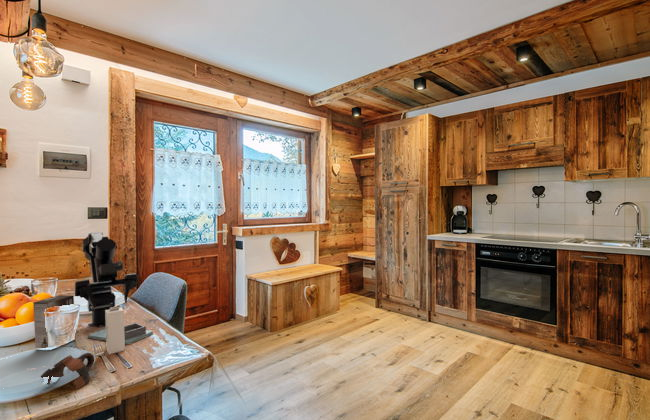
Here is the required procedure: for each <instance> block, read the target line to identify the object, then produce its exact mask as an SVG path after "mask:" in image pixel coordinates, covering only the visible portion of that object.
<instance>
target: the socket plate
mask: <svg viewBox="0 0 650 420" xmlns="http://www.w3.org/2000/svg"><path fill="white" fill-rule="evenodd" d="M153 334H154V331H153V330H147V327H146V325H143V324H141V323H138V322H134V323H130V324H127V325H124V336H125V345H130V344H133V343H135V342H138V341H139V340H142V339H144V338H146V337H150V336H152V335H153ZM87 338H88V339H91V340H92V339H93V340H100V341H105V342H106V328H103V329H101V330H99V331H95V332H93V333H90V334H88V335H87Z"/></svg>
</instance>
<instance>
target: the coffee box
mask: <svg viewBox="0 0 650 420" xmlns="http://www.w3.org/2000/svg"><path fill="white" fill-rule="evenodd" d="M74 296H75V294H74V295H73V294H72V295H67V294H65V295H63V294H62V295H61V294H60V295H56V296H55V295H54V296H52V297H47V298H44V299H40V300H37V301H34V302H32V304H33V318H34V319H33V320H34V324H33V325H34V335H35V336H34V338H35V339H34V340H35V344H34V345H35V349H36V348H46V347H48V337H47V332H46V328H45V314H44V310H45V309H47V308H50V307H54V306H62V305H70V304H74V305H75V299H74V298H75V297H74ZM76 334H77V333H75V341H76V340H77V338H76Z"/></svg>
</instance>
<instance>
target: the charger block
mask: <svg viewBox="0 0 650 420" xmlns="http://www.w3.org/2000/svg"><path fill="white" fill-rule="evenodd" d="M105 320H106V325H105V329H106V341H105V344H106V347H105V348H106V352H107V355H112V354H116V353H120V352H123V351H126V344H125V336H124V326H125V311H124V309H123V308H122V307H121V306H120V307H117V306H116V307H113V308H110V309H109V310H105Z"/></svg>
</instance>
